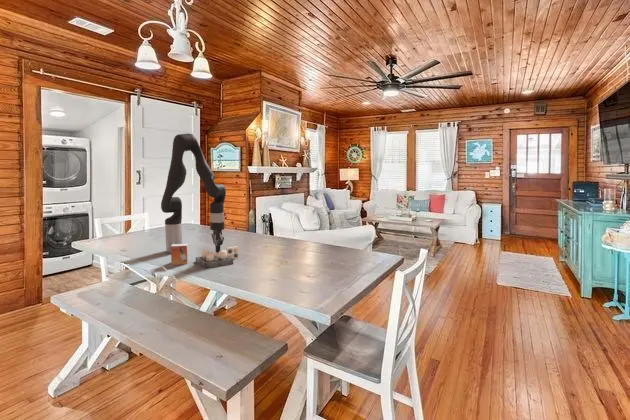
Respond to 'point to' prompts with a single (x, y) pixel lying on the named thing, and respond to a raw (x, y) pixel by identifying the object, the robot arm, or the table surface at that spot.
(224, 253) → the button
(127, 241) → the table surface
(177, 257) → the small box
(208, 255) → the button
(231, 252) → the card
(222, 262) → the board
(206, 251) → the button
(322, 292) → the table surface
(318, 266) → the table surface
